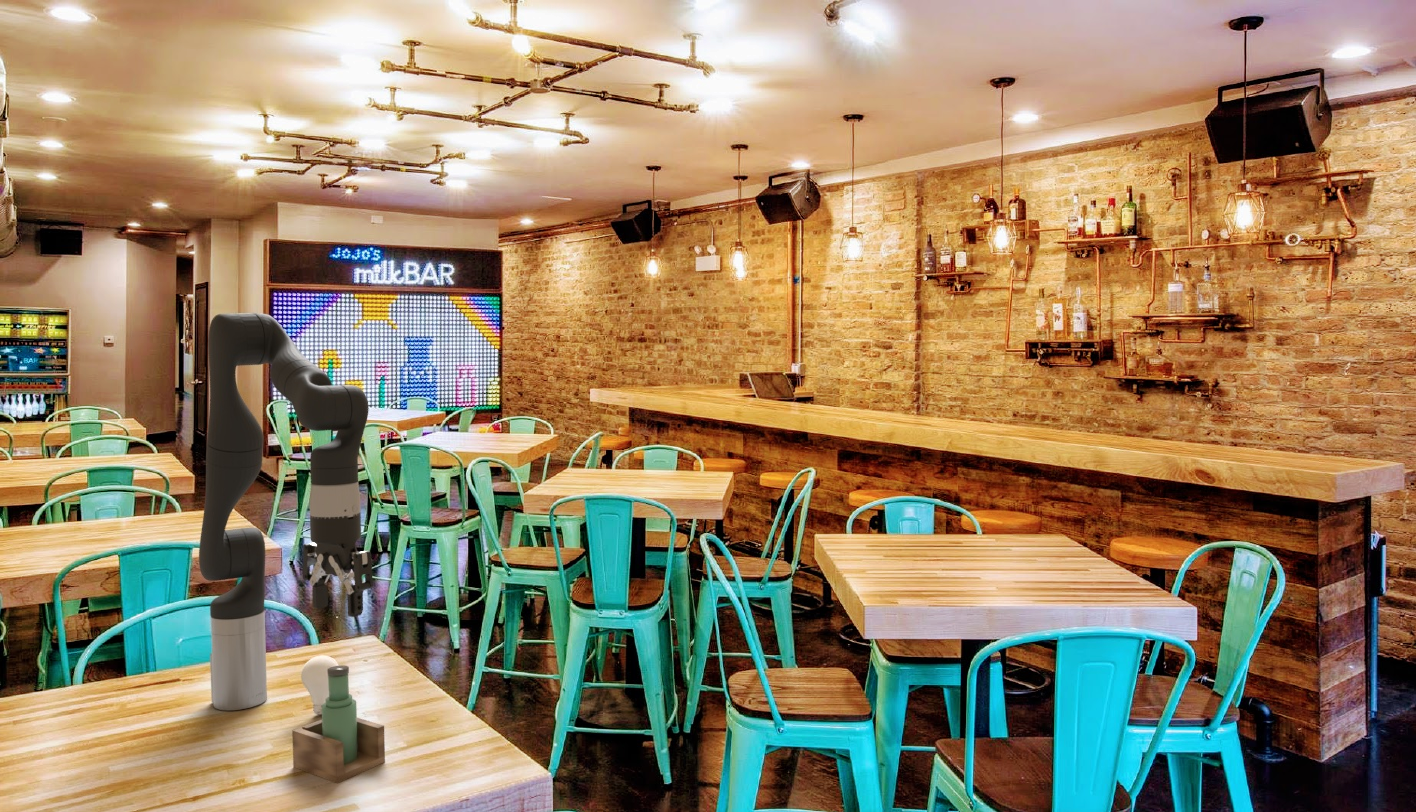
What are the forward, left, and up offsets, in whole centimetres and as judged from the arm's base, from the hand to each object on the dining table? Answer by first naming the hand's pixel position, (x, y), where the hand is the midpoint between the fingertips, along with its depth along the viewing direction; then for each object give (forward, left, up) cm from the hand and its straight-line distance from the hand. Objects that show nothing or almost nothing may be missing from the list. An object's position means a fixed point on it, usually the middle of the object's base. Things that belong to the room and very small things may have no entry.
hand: (337, 611), depth 153 cm
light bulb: (-22, +12, -25) cm, 35 cm away
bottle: (0, 0, -24) cm, 24 cm away
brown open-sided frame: (-1, 0, -25) cm, 25 cm away
